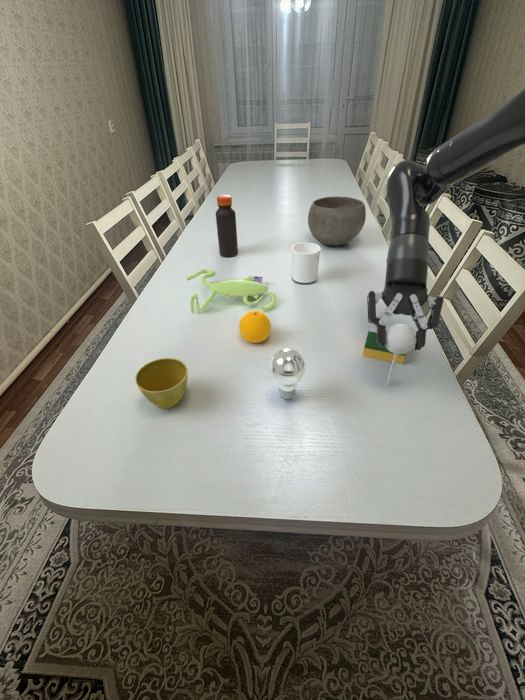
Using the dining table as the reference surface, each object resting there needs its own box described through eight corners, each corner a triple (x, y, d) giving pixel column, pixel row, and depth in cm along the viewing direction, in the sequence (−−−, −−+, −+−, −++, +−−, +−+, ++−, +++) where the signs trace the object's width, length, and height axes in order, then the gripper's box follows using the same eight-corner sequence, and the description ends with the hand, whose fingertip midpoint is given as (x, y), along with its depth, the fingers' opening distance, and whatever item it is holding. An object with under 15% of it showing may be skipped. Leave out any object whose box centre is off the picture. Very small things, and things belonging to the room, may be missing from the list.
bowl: (317, 229, 149) (320, 191, 140) (367, 236, 142) (373, 197, 133) (298, 247, 135) (300, 206, 126) (353, 256, 128) (359, 213, 118)
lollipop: (367, 383, 77) (379, 325, 68) (383, 370, 80) (397, 314, 71) (392, 398, 73) (408, 340, 64) (408, 385, 76) (426, 327, 67)
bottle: (235, 258, 129) (231, 200, 116) (217, 257, 130) (211, 199, 117) (240, 250, 134) (236, 194, 122) (222, 249, 135) (217, 193, 123)
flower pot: (171, 376, 80) (165, 351, 76) (202, 396, 75) (198, 370, 71) (133, 402, 74) (124, 376, 70) (164, 426, 69) (156, 400, 65)
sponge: (404, 349, 86) (407, 338, 84) (402, 364, 82) (405, 353, 80) (366, 341, 89) (368, 330, 87) (362, 355, 84) (364, 345, 82)
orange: (235, 333, 93) (233, 308, 88) (264, 326, 95) (263, 301, 90) (245, 350, 87) (244, 325, 82) (275, 343, 89) (276, 317, 84)
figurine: (191, 283, 115) (188, 267, 111) (274, 281, 114) (274, 265, 111) (181, 314, 100) (177, 297, 97) (276, 312, 100) (276, 294, 96)
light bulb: (267, 388, 77) (266, 343, 69) (298, 383, 77) (301, 339, 70) (273, 412, 71) (273, 367, 64) (307, 407, 72) (311, 361, 65)
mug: (309, 288, 110) (311, 256, 104) (285, 280, 115) (285, 249, 108) (326, 274, 117) (329, 244, 111) (303, 267, 121) (305, 238, 115)
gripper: (371, 253, 68) (363, 341, 66) (453, 258, 65) (446, 349, 63) (366, 267, 75) (358, 346, 73) (439, 272, 72) (433, 354, 71)
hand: (399, 347), depth 68 cm, fingers closed on lollipop, 6 cm apart
